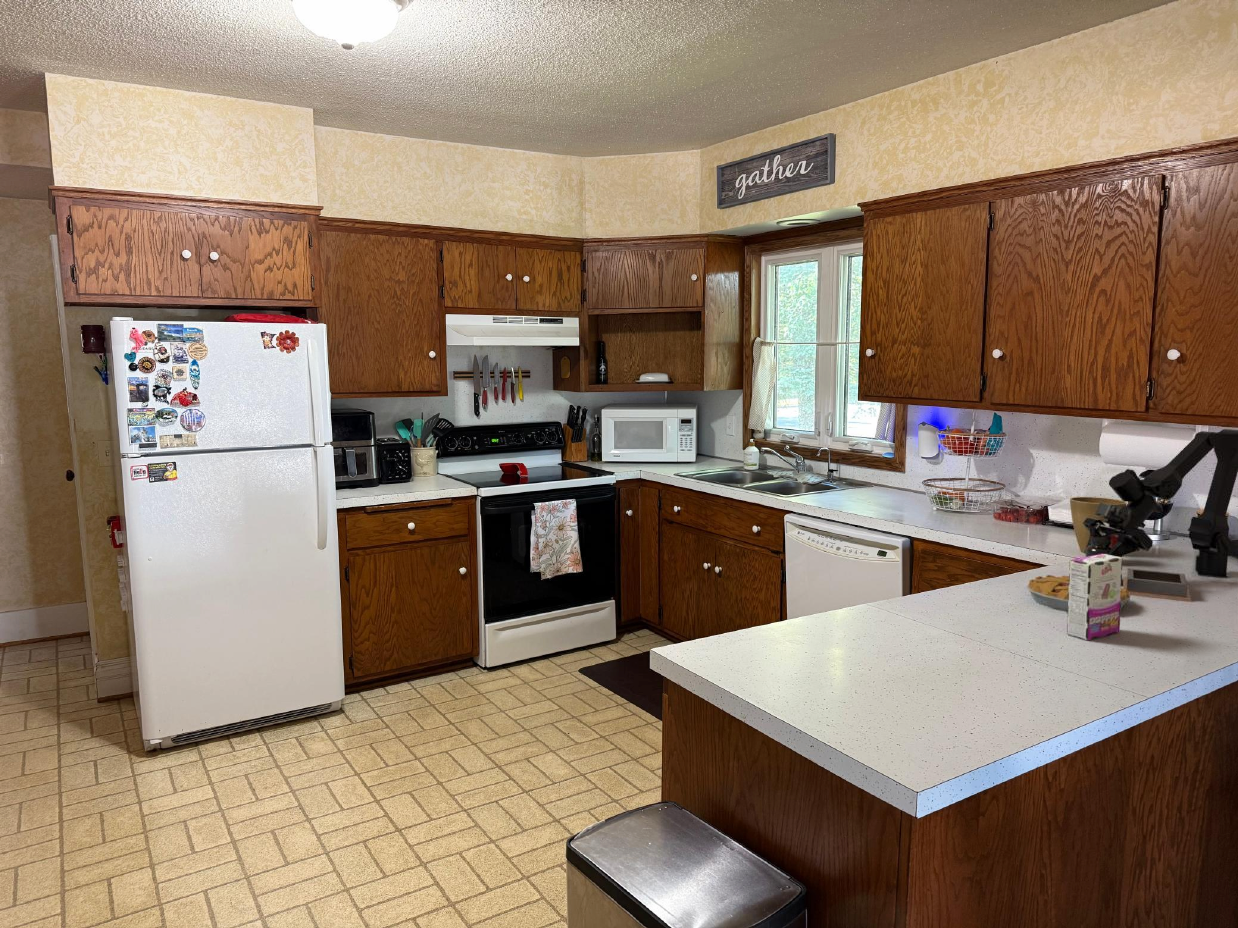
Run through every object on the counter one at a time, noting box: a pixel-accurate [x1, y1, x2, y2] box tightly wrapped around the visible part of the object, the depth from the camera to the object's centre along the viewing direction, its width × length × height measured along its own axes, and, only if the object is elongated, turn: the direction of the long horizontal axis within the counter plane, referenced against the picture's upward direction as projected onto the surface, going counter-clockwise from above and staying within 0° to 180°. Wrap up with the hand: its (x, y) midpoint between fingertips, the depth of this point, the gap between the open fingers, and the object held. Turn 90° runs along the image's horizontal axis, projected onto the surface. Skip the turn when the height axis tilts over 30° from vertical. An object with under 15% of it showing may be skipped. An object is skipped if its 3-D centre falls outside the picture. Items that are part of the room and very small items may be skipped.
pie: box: [1026, 574, 1131, 612], centre depth 203 cm, size 22×22×5 cm
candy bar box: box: [1066, 554, 1124, 641], centre depth 179 cm, size 11×5×16 cm, turn 117°
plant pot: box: [1069, 496, 1128, 553], centre depth 256 cm, size 15×15×16 cm
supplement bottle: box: [1084, 535, 1112, 557], centre depth 222 cm, size 7×7×12 cm
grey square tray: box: [1122, 567, 1192, 602], centre depth 212 cm, size 14×14×4 cm
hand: (1095, 556), depth 221 cm, fingers closed on supplement bottle, 7 cm apart
